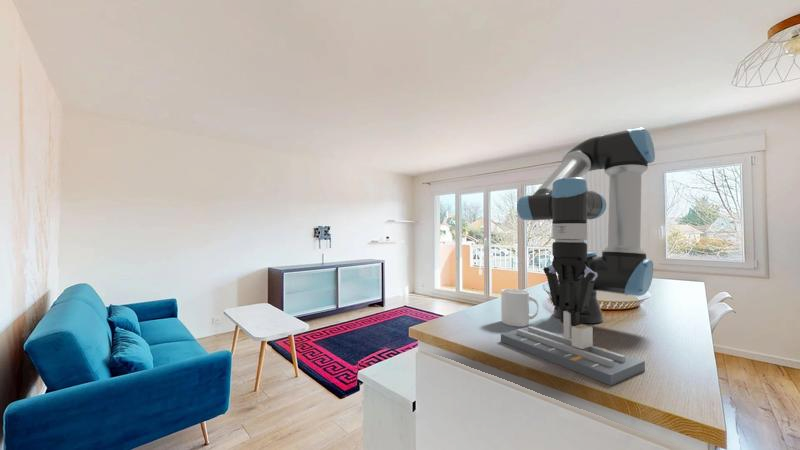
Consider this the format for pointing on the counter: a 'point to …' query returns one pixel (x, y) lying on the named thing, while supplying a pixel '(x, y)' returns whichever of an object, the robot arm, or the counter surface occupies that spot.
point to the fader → (582, 337)
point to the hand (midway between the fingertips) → (569, 337)
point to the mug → (516, 307)
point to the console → (575, 355)
